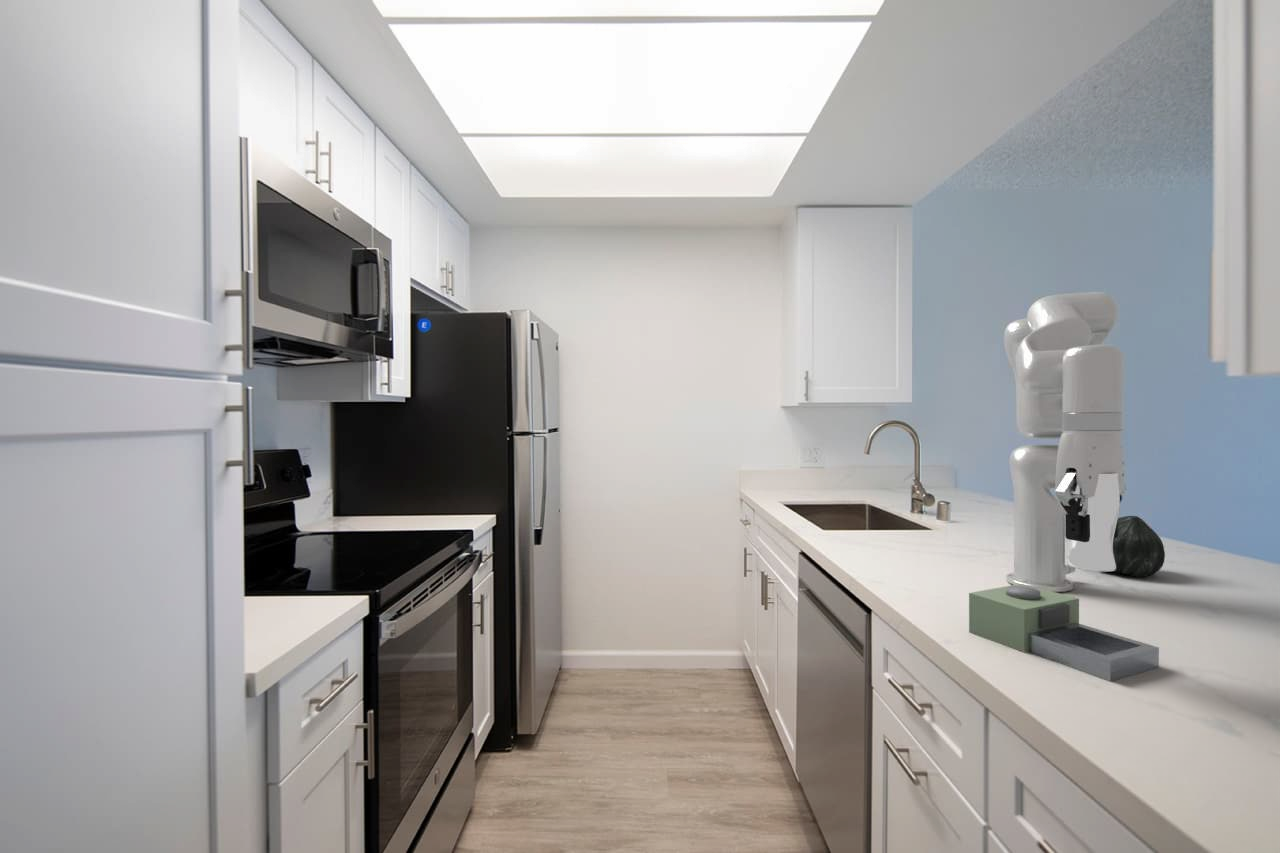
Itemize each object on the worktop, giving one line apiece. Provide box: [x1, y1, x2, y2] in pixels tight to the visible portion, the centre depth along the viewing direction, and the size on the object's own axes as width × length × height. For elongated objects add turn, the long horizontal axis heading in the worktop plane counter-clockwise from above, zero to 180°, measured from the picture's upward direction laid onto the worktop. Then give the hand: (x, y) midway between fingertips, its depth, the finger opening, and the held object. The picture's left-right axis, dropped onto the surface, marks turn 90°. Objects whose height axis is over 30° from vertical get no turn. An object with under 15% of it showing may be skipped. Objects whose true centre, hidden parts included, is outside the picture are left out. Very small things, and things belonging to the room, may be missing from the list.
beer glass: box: [1067, 472, 1121, 572], centre depth 93 cm, size 7×7×15 cm
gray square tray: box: [1028, 622, 1160, 682], centre depth 94 cm, size 12×12×3 cm
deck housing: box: [968, 584, 1080, 653], centre depth 104 cm, size 14×11×8 cm
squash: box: [1112, 515, 1166, 578], centre depth 143 cm, size 14×15×15 cm
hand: (1091, 537), depth 93 cm, fingers closed on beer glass, 6 cm apart
